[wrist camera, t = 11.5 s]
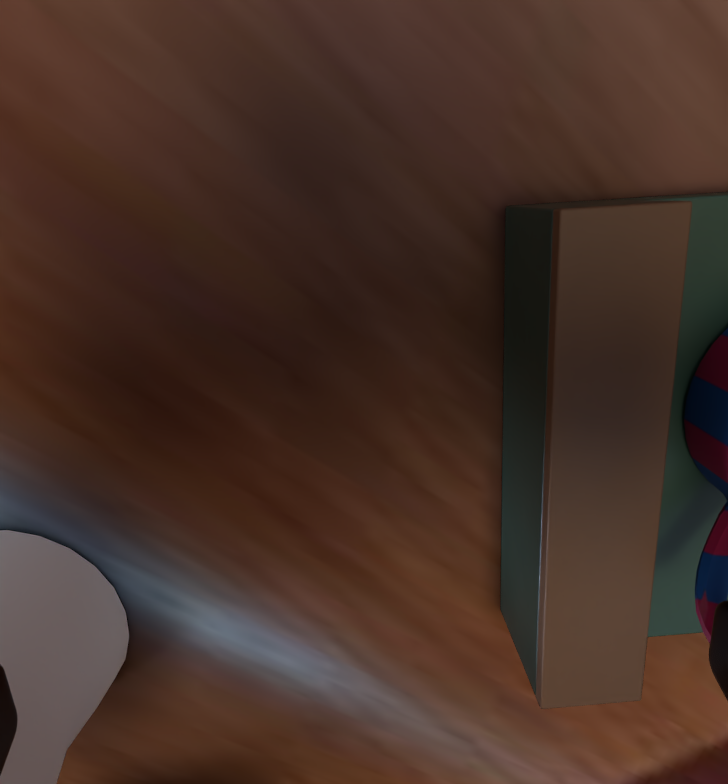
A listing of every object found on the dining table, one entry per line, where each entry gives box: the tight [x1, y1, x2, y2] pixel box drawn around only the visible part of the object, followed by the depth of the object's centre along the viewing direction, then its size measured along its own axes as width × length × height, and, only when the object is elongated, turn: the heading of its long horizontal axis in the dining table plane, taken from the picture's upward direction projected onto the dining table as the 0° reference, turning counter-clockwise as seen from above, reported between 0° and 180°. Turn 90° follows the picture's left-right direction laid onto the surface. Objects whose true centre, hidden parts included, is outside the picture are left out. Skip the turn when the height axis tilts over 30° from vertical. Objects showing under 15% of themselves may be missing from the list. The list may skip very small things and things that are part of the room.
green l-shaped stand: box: [501, 192, 728, 709], centre depth 18 cm, size 14×12×4 cm
